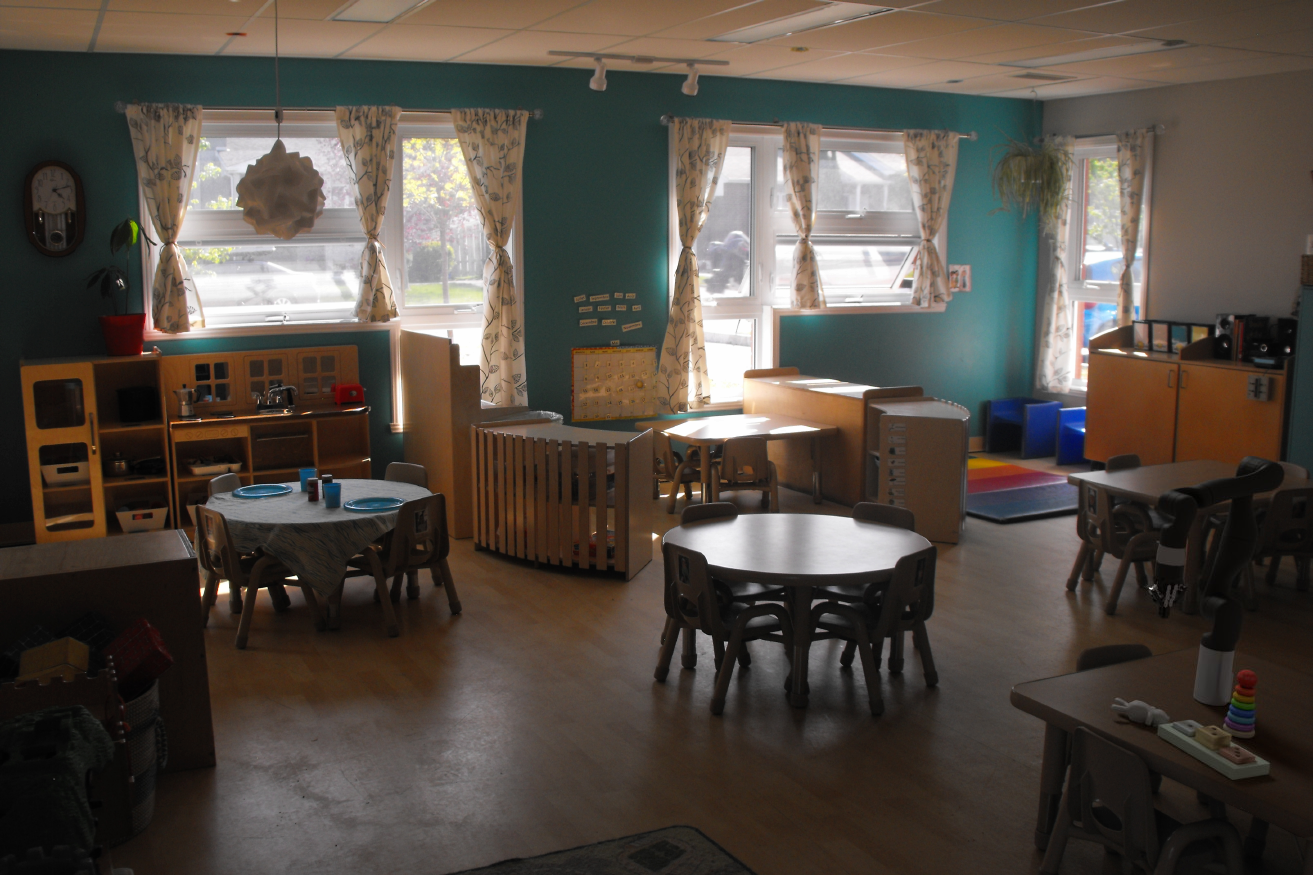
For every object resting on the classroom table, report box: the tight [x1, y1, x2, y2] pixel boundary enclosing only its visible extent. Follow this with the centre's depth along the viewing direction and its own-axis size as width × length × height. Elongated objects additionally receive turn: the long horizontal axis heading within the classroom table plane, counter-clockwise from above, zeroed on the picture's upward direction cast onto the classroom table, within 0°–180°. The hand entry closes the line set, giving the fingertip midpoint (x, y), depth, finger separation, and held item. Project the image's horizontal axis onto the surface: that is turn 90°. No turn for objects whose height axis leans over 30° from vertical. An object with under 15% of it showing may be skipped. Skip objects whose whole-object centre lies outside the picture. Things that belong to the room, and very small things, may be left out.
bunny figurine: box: [1110, 697, 1170, 729], centre depth 308 cm, size 10×5×15 cm
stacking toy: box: [1222, 669, 1259, 739], centre depth 301 cm, size 8×8×19 cm
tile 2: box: [1195, 725, 1233, 751], centre depth 289 cm, size 6×6×4 cm
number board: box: [1156, 719, 1271, 781], centre depth 289 cm, size 12×26×3 cm, turn 18°
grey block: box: [1172, 719, 1203, 738], centre depth 296 cm, size 6×6×4 cm
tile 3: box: [1218, 745, 1257, 765], centre depth 282 cm, size 6×6×4 cm
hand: (1163, 617), depth 310 cm, fingers closed
